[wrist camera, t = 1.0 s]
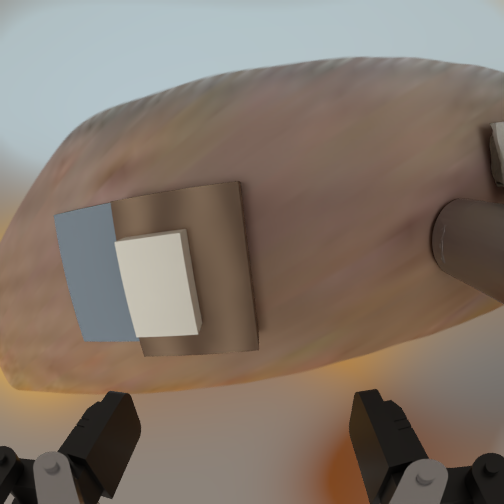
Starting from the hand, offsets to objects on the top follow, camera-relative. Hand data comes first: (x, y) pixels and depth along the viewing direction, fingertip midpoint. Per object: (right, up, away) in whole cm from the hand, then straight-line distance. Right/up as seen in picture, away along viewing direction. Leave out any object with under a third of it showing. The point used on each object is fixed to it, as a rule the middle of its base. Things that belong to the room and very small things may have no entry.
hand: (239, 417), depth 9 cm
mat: (-17, +3, +22) cm, 28 cm away
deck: (-6, +4, +22) cm, 23 cm away
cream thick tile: (-8, +3, +18) cm, 20 cm away
